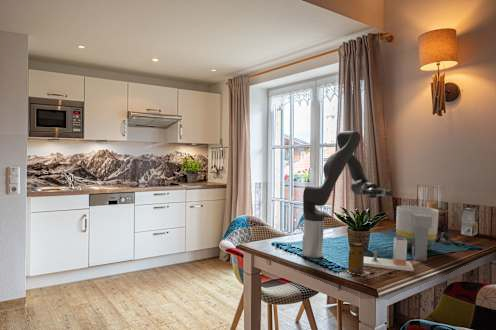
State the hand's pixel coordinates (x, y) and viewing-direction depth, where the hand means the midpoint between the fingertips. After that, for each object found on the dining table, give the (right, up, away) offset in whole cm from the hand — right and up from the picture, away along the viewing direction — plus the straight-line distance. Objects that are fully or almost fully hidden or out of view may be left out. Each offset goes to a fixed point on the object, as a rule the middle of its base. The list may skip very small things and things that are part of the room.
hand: (381, 193), depth 167 cm
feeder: (+17, -31, -2) cm, 35 cm away
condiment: (-19, -31, -24) cm, 43 cm away
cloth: (+47, -31, +29) cm, 63 cm away
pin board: (-2, -31, -13) cm, 33 cm away
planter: (+23, -30, +13) cm, 40 cm away
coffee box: (+75, -30, +51) cm, 96 cm away
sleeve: (+2, -30, -14) cm, 33 cm away
